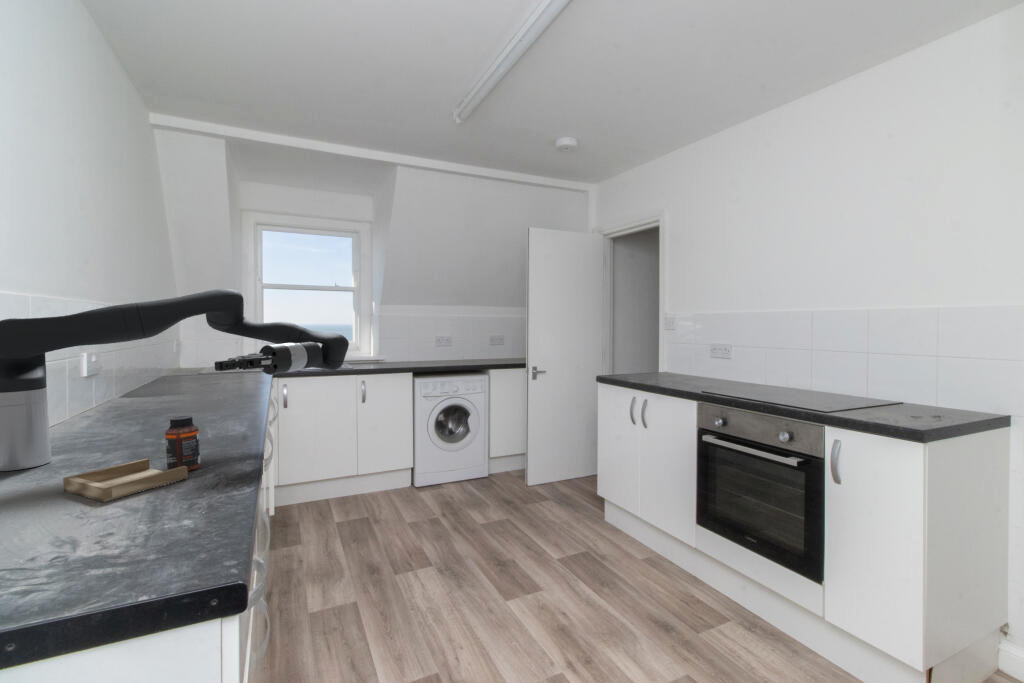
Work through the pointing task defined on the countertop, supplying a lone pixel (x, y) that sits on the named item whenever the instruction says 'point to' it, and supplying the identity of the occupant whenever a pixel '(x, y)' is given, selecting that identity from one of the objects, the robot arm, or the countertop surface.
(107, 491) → the beech tray
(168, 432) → the supplement bottle
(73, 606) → the countertop surface
